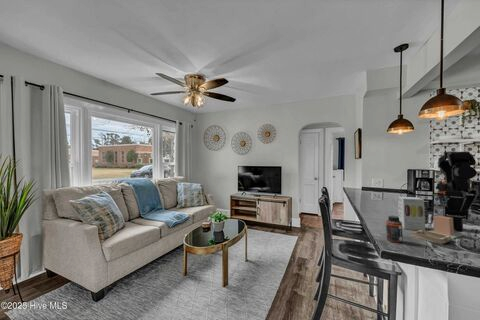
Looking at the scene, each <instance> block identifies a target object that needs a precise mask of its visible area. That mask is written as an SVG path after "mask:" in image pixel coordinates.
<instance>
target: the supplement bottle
mask: <svg viewBox="0 0 480 320" xmlns="http://www.w3.org/2000/svg"><path fill="white" fill-rule="evenodd" d="M385 222H386V223H385V225H386V226H385V230H386V239H387V240H388V241H389V242H391V243H396V244H397V243H398V244H400V243H403V242H404V236H403V228H402V223H401V222H400V221H399V215H398V216H397V215H388V216H387V220H386V221H385Z"/></svg>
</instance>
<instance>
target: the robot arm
mask: <svg viewBox="0 0 480 320" xmlns="http://www.w3.org/2000/svg"><path fill="white" fill-rule="evenodd" d="M476 164H477V161H476V159H475V157H474V155H473V154H472V153H471V152H470V151H444V152H443V154H442V155H441V156H440V157H439V158H438V161H437V167H438V169H439V171H440V173H442V175H443V176H444V181H445V182H444V183H443V182H438V183H437V184H436V187H435V188H436V189H437V190H438V192H439V193H441V192H444V197H446V198H447V201H446V202H445V204H444V206H443V209H442V216H444V217H450V218H453V227H454V231H456V232H457V231H458V232H464V231H467V228H464V220H469V213H470V211H469V210H470V208H471V207H472V205H473V203H474V202H475V200H476V199H477V197H478V196H479V195H480V192H479V191H480V190H478V189H477V188H471V183H472V182H473V178H475V176H477V173H478V172H477V170H476V169H475V168H474V167H473V166H476Z"/></svg>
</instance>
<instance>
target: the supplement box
mask: <svg viewBox="0 0 480 320" xmlns="http://www.w3.org/2000/svg"><path fill="white" fill-rule="evenodd" d="M397 210H398V214H397V215H398V217H399V221H400V222H401V223H402V229H404V230H410V231H411V230H412V231H419V230H424V231H426V221H425V220H426V219H425V218H426V217H425V199H423V198H419V197H417V196H416V197H415V196H397Z"/></svg>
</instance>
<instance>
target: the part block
mask: <svg viewBox="0 0 480 320" xmlns="http://www.w3.org/2000/svg"><path fill="white" fill-rule="evenodd" d="M432 219H433V230H434V232H436V233H441V234H445V235H453V234H454V233H455V232H454V231H455V230H454V227H453V218H450V217H444V216H443V215H434V216H433V218H432Z"/></svg>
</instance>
